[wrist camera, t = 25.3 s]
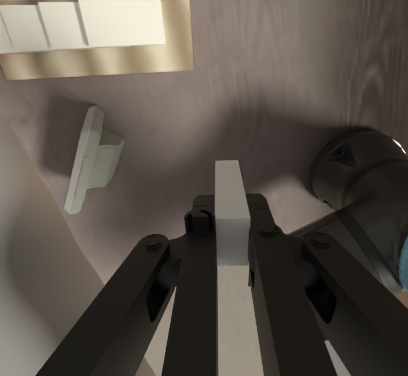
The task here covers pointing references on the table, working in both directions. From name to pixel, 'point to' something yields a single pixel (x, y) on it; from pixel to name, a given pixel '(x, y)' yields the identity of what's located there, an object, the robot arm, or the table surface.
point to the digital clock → (93, 159)
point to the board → (110, 51)
